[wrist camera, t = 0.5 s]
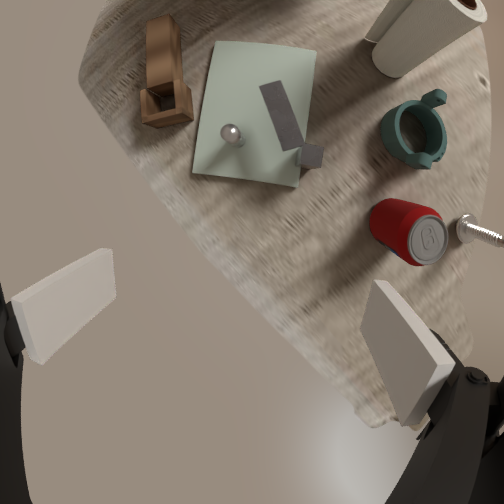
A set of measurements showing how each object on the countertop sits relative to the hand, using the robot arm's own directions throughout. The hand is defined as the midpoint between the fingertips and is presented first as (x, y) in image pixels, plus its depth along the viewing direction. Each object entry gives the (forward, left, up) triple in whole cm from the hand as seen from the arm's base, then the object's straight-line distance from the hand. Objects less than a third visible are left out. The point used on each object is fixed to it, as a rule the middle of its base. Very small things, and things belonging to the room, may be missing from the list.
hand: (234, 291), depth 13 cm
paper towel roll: (-27, +15, -26) cm, 40 cm away
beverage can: (-2, +18, -26) cm, 31 cm away
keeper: (-12, +2, -25) cm, 28 cm away
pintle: (-9, -4, -24) cm, 26 cm away
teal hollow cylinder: (-15, +19, -26) cm, 35 cm away
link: (-19, -16, -25) cm, 36 cm away
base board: (-14, -3, -25) cm, 29 cm away
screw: (-5, +32, -26) cm, 41 cm away
